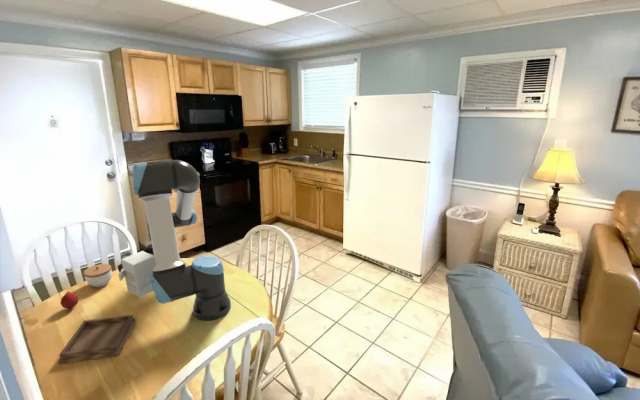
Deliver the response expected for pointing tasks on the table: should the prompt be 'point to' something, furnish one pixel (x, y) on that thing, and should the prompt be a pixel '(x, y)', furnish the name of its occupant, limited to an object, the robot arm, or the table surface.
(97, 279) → the lidded jar
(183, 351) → the table surface
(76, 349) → the walnut stand
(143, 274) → the supplement box
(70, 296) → the onion
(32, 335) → the table surface
